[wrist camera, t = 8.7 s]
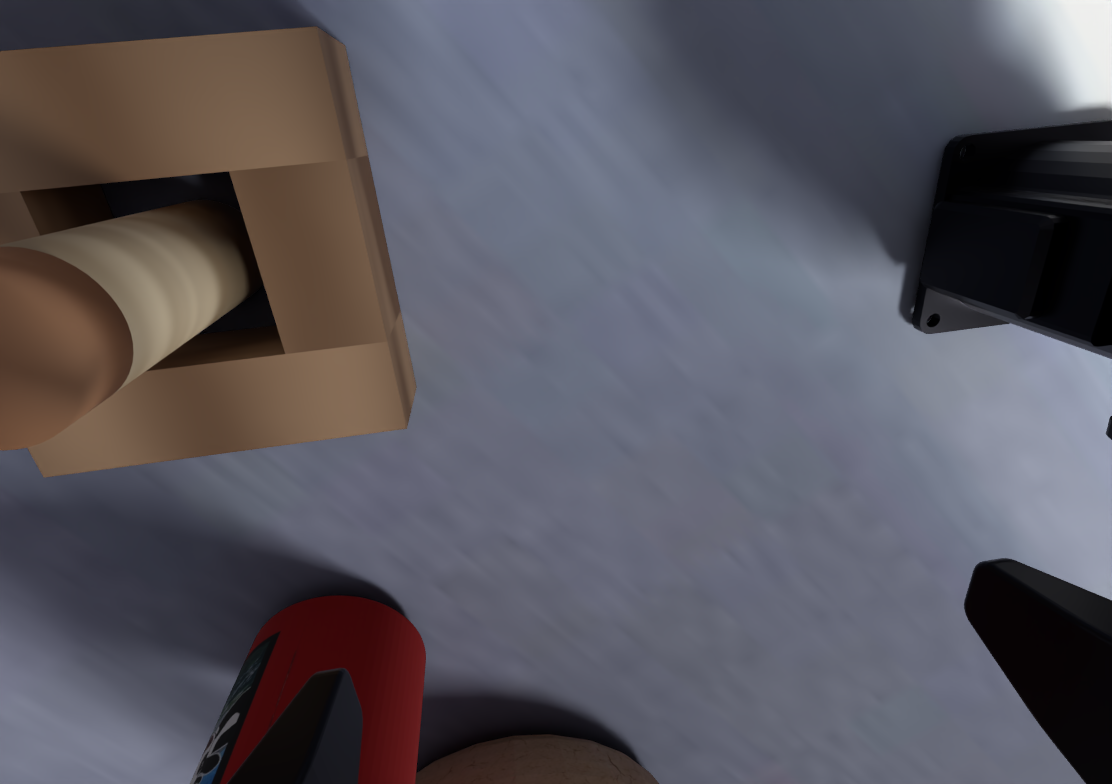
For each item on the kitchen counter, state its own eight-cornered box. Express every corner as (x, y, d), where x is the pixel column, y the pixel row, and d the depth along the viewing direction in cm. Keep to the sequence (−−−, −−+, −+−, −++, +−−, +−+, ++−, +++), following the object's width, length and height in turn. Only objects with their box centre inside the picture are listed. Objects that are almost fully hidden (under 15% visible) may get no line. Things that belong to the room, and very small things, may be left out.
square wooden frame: (344, 45, 15) (316, 26, 12) (416, 386, 19) (406, 428, 17) (-60, 78, 14) (-186, 65, 12) (106, 427, 18) (43, 477, 16)
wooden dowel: (251, 194, 16) (26, 254, 8) (281, 296, 18) (114, 436, 9) (141, 205, 16) (-204, 277, 8) (180, 307, 17) (-83, 462, 9)
